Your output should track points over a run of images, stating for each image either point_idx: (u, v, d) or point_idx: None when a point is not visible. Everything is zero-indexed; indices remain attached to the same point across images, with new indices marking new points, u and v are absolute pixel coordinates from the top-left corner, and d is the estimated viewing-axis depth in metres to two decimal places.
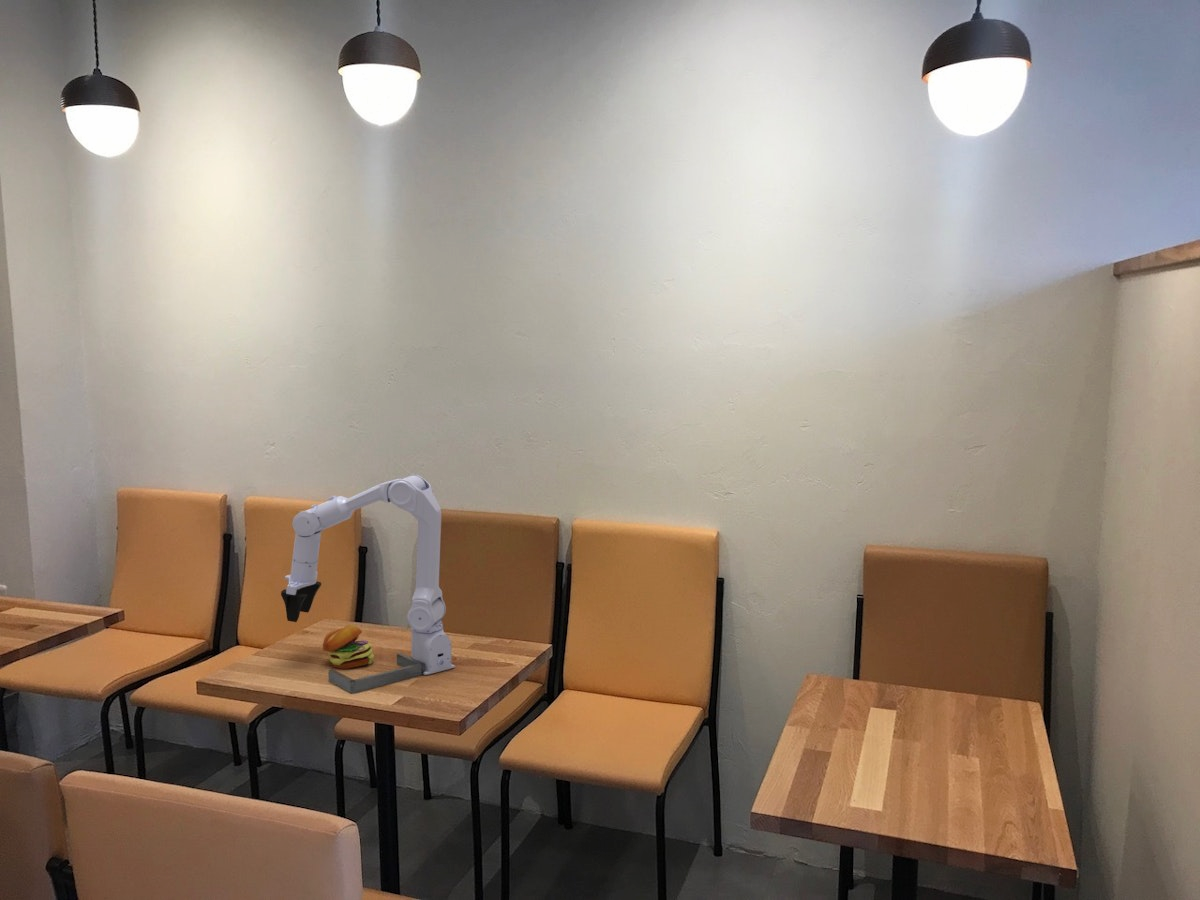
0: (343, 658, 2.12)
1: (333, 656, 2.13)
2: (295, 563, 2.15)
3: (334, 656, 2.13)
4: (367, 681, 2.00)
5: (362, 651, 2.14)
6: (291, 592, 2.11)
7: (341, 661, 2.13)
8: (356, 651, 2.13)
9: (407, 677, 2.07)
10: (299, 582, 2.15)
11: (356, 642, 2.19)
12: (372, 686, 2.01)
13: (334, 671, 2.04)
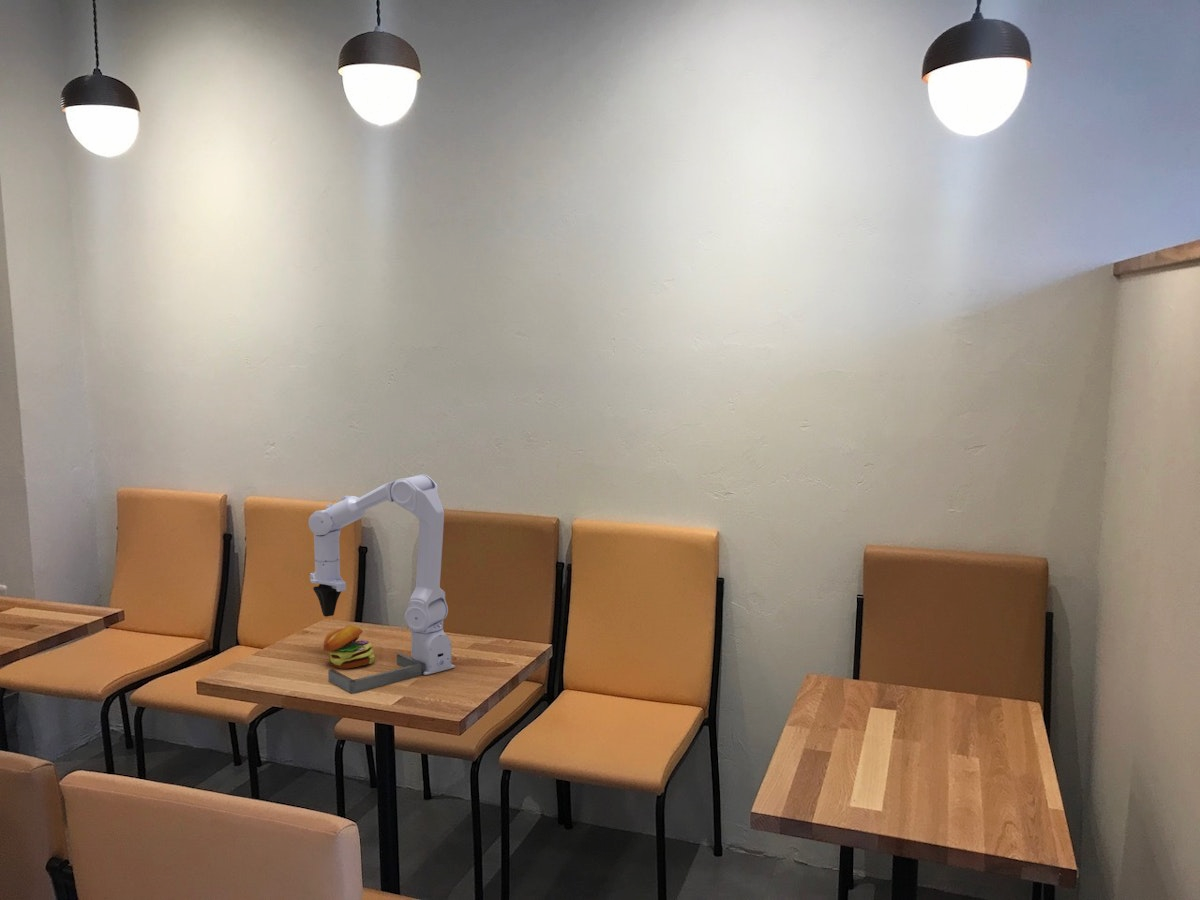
0: (344, 658, 2.12)
1: (334, 656, 2.13)
2: (327, 563, 2.19)
3: (335, 656, 2.13)
4: (367, 681, 2.00)
5: (363, 651, 2.14)
6: (342, 588, 2.17)
7: (342, 661, 2.13)
8: (357, 651, 2.13)
9: (407, 677, 2.07)
10: (334, 580, 2.20)
11: (357, 642, 2.19)
12: (372, 686, 2.01)
13: (334, 671, 2.04)
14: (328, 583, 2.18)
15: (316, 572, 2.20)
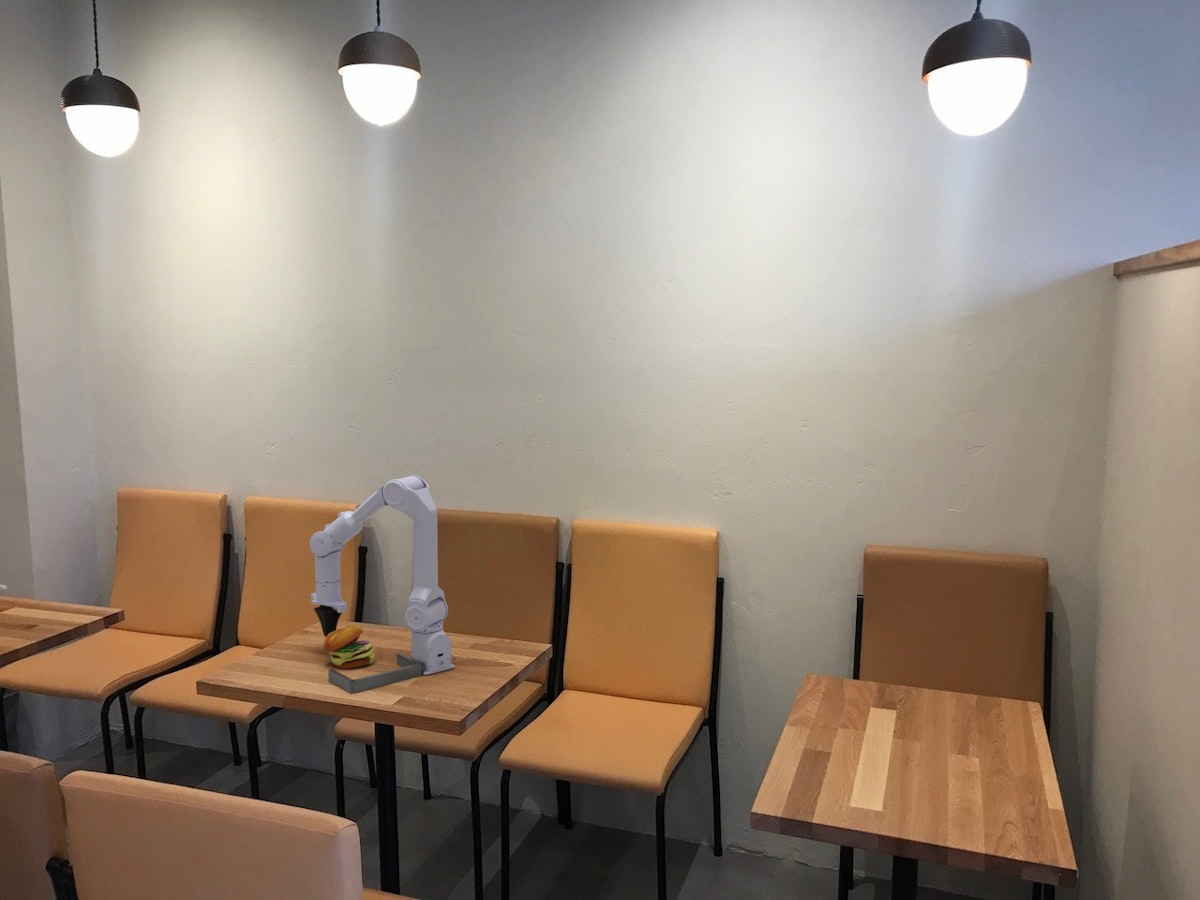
0: (344, 658, 2.12)
1: (334, 656, 2.13)
2: (327, 584, 2.20)
3: (335, 656, 2.13)
4: (367, 681, 2.00)
5: (363, 651, 2.14)
6: (343, 610, 2.18)
7: (342, 661, 2.13)
8: (357, 651, 2.13)
9: (407, 677, 2.07)
10: (335, 601, 2.21)
11: (357, 642, 2.19)
12: (372, 686, 2.01)
13: (334, 671, 2.04)
14: (329, 604, 2.19)
15: (317, 593, 2.21)
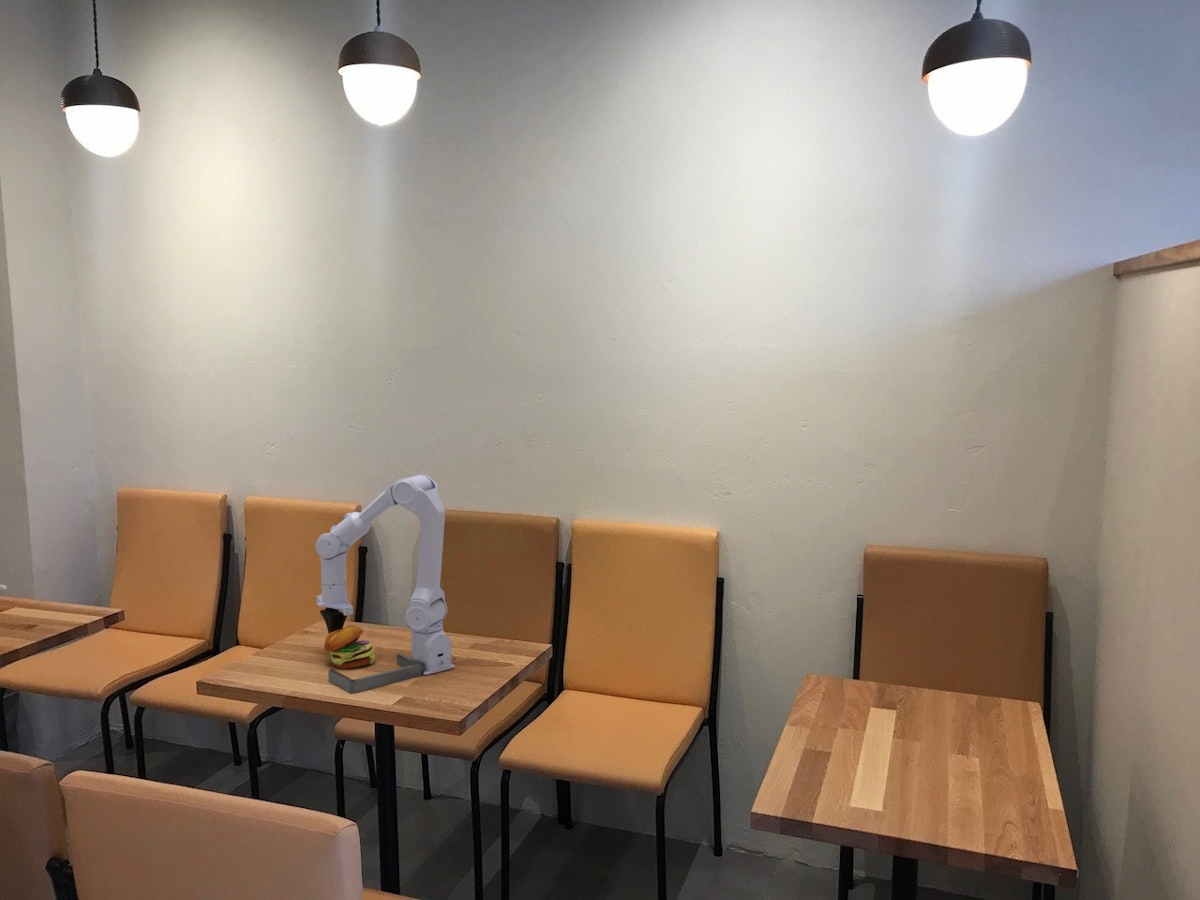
0: (344, 658, 2.12)
1: (335, 656, 2.13)
2: (333, 587, 2.17)
3: (335, 656, 2.13)
4: (367, 681, 2.00)
5: (363, 651, 2.14)
6: (349, 612, 2.16)
7: (342, 661, 2.13)
8: (357, 651, 2.13)
9: (407, 677, 2.07)
10: (341, 603, 2.19)
11: (357, 642, 2.19)
12: (372, 686, 2.01)
13: (334, 671, 2.04)
14: (335, 607, 2.16)
15: (323, 595, 2.18)
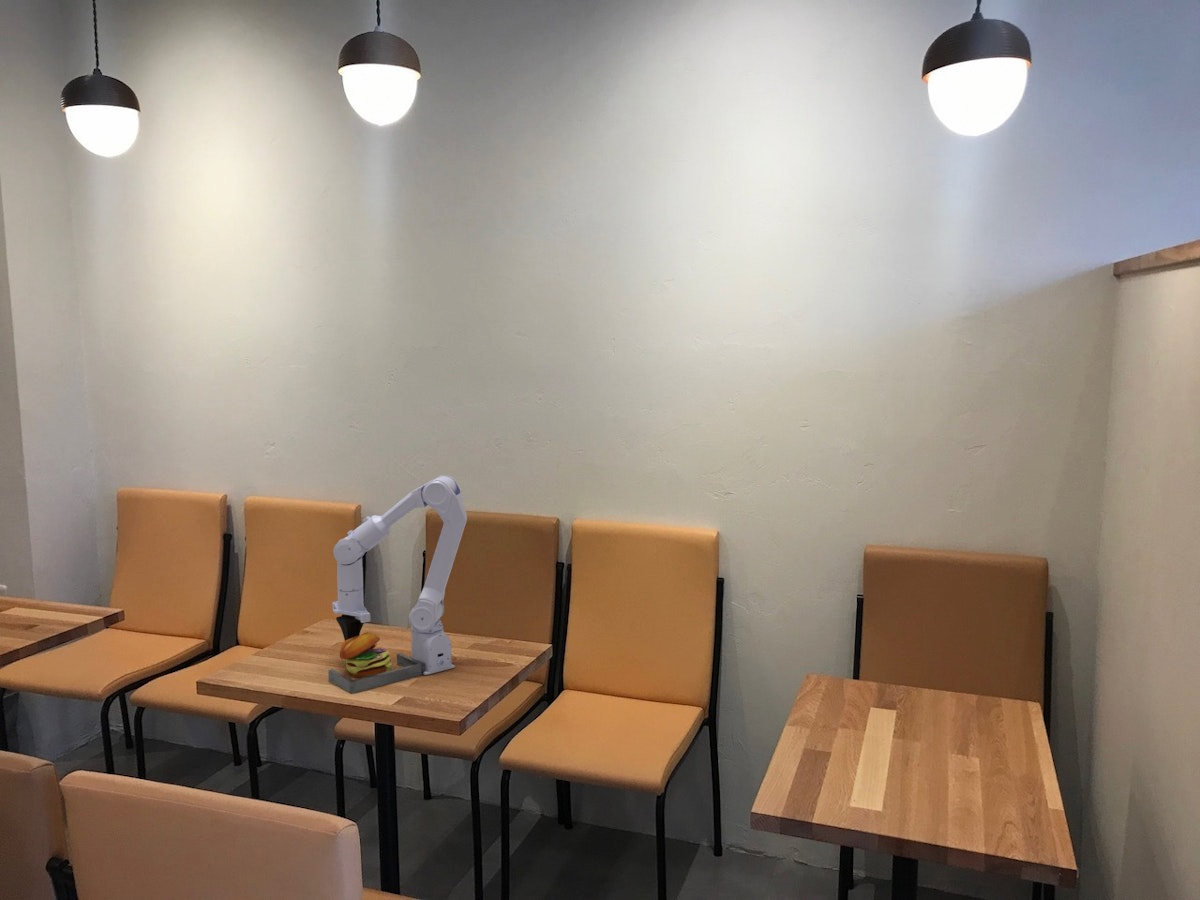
0: (359, 666, 2.06)
1: (350, 664, 2.08)
2: (350, 593, 2.12)
3: (351, 664, 2.07)
4: (367, 681, 2.00)
5: (379, 659, 2.08)
6: (366, 619, 2.10)
7: (357, 669, 2.07)
8: (373, 659, 2.07)
9: (407, 677, 2.07)
10: (358, 610, 2.13)
11: (374, 650, 2.13)
12: (372, 686, 2.01)
13: (334, 671, 2.04)
14: (352, 614, 2.11)
15: (339, 602, 2.13)
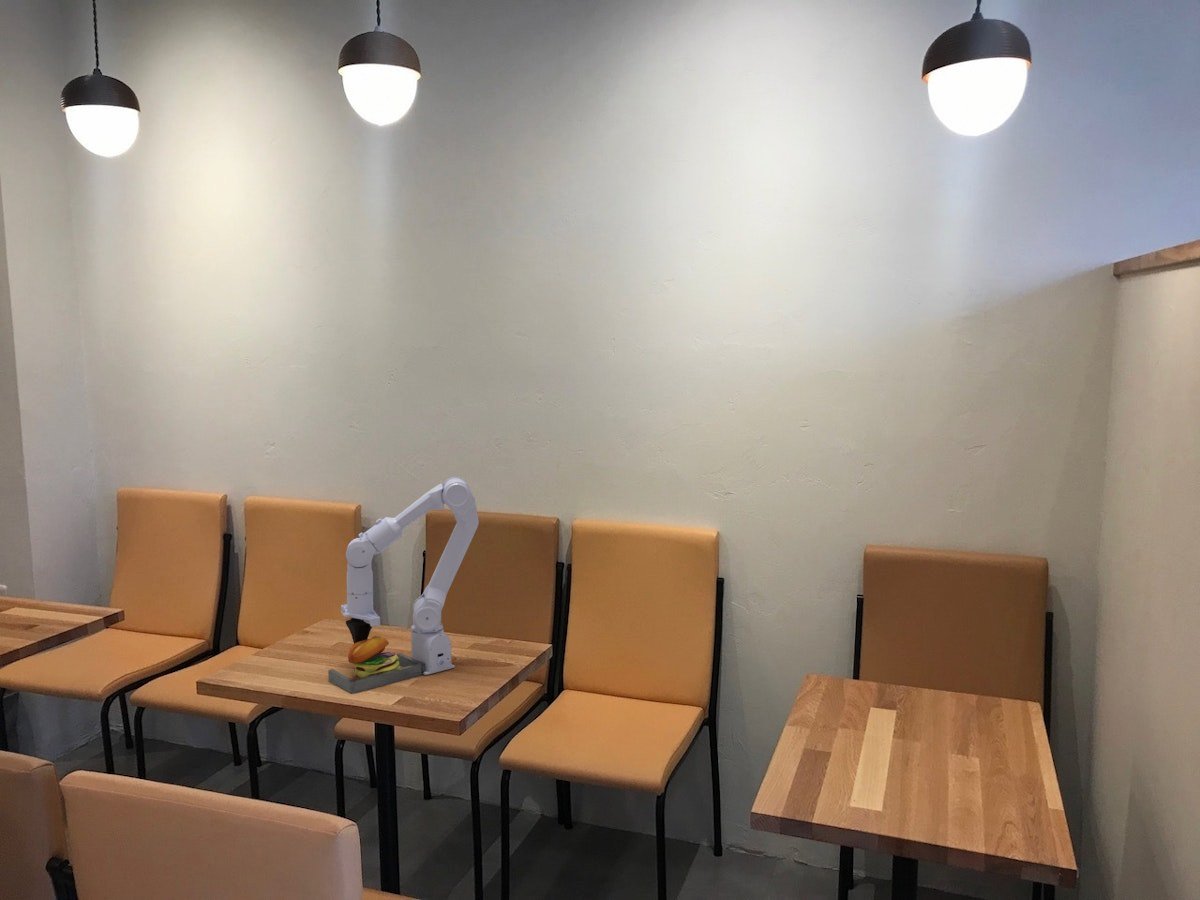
0: (369, 671, 2.03)
1: (359, 668, 2.04)
2: (360, 596, 2.08)
3: (360, 669, 2.04)
4: (367, 681, 2.00)
5: (389, 664, 2.05)
6: (376, 623, 2.06)
7: (367, 674, 2.03)
8: (382, 664, 2.04)
9: (407, 677, 2.07)
10: (368, 614, 2.09)
11: (382, 654, 2.10)
12: (372, 686, 2.01)
13: (334, 671, 2.04)
14: (361, 617, 2.07)
15: (348, 605, 2.09)
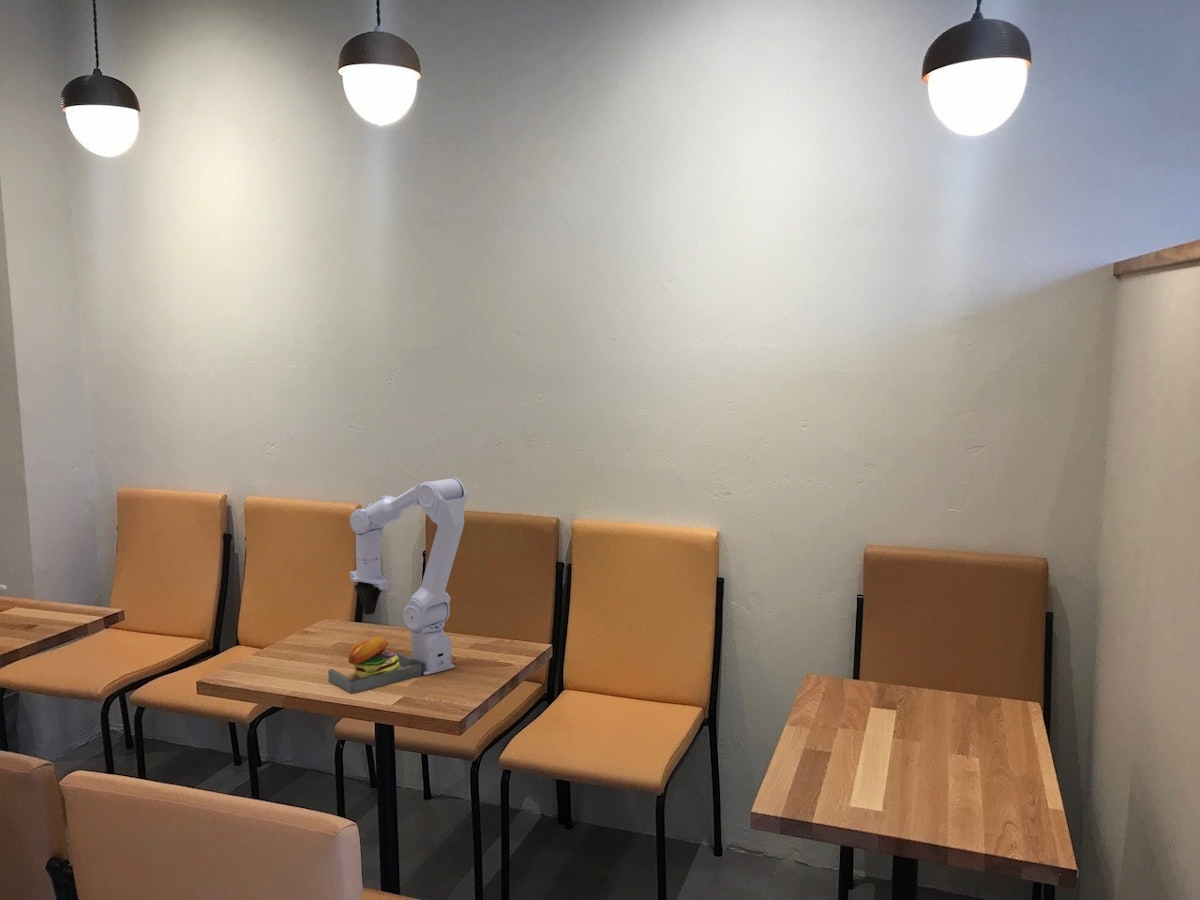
0: (369, 671, 2.03)
1: (359, 669, 2.05)
2: (369, 562, 2.21)
3: (360, 669, 2.04)
4: (367, 681, 2.00)
5: (389, 664, 2.05)
6: (385, 587, 2.19)
7: (367, 674, 2.04)
8: (383, 664, 2.04)
9: (407, 677, 2.07)
10: (376, 578, 2.22)
11: (383, 654, 2.10)
12: (372, 686, 2.01)
13: (334, 671, 2.04)
14: (370, 581, 2.20)
15: (358, 570, 2.22)
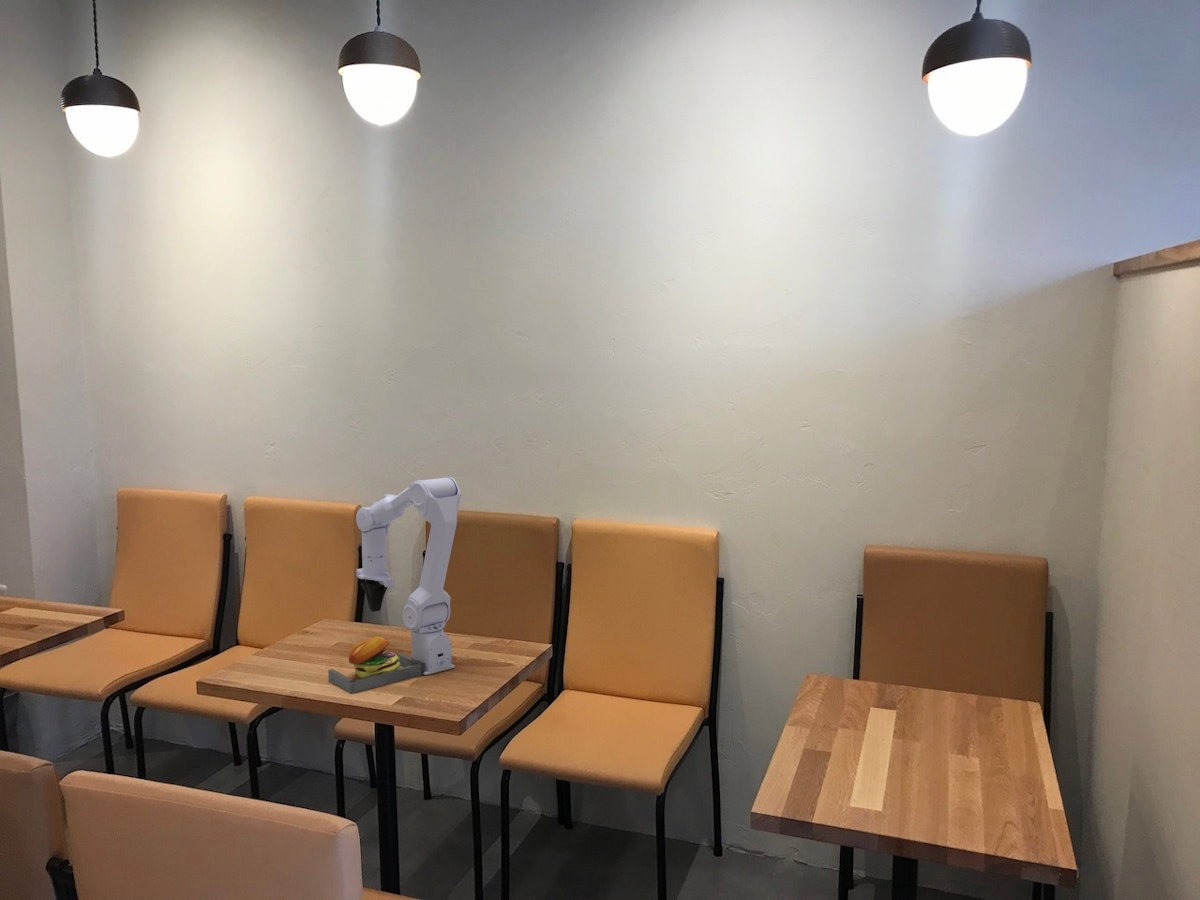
0: (369, 671, 2.03)
1: (359, 669, 2.05)
2: (374, 559, 2.24)
3: (360, 669, 2.04)
4: (367, 681, 2.00)
5: (389, 664, 2.05)
6: (390, 584, 2.22)
7: (367, 674, 2.04)
8: (383, 664, 2.04)
9: (407, 677, 2.07)
10: (382, 576, 2.25)
11: (383, 654, 2.10)
12: (372, 686, 2.01)
13: (334, 671, 2.04)
14: (376, 579, 2.23)
15: (364, 568, 2.25)
